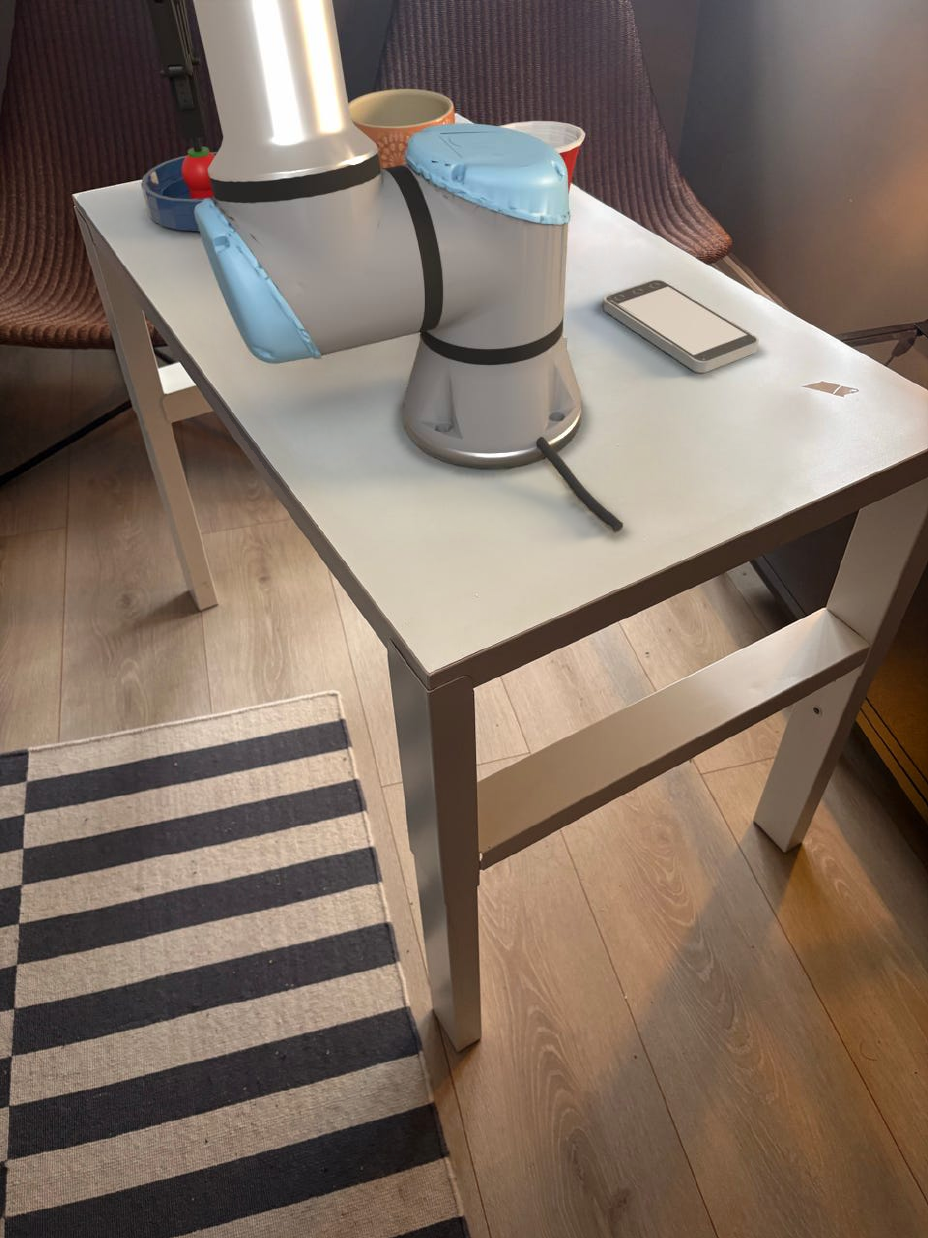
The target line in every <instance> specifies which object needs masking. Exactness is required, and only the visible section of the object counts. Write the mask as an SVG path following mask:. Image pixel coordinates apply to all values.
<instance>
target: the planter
mask: <svg viewBox="0 0 928 1238" xmlns="http://www.w3.org/2000/svg"><path fill="white" fill-rule="evenodd" d="M348 105H349V112H350V118H351V120H352V122H353V123H354V125H355V126H356V127H357V128H358V129H360V130H361V131H362V132H363V133H364V134H365V135H367V136H368V137H369V138H370V139H371V140H372V141H374V142H375V143H376V145H377V149H378V155H379V162H380V169H384V168H389V167H394V166H399V165H403V164H406V163H407V162H406V160H405V153H404V152H405V150H406V149H407V144H408V141H409V139H410V138H411V136H412V135H413V134H415V133H416V132H421V131H422V130H423V129H425V128H427V127H431V126H436V125H442V124H455V123H456V113H455V107H454V103H453V101H452V100H451V99H450V98H449V97H447V96H446V95H444V94H442V93H440V92H435V91H432V90H431V91H430V90H426V89H416V88H396V89H394V88H393V89H384V90H379V91H375V92H370V93H366V94H364V95H361V96H358V97H356V98H354V99H352V100H351V101H350V102H349V101H348Z"/></svg>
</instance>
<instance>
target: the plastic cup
mask: <svg viewBox="0 0 928 1238" xmlns="http://www.w3.org/2000/svg"><path fill="white" fill-rule="evenodd" d="M497 126H498V127H504V128H508V129H512V130H516V131H520V132H523V133H526V134H529V135H531V136H534V137H536V138H538V139H540V140H542V141H544V142H546V143H547V144H549V145H550V146H551V147H553V148H554V149H555V150H556V151H557V152H558V153H559V154H560V156H561V157H562V159H563V160H564V163H565V165H566V168H567V173H568V195H570V190H571V185H572V180H573V175H574V170H575V167H576V164H577V157H578V155H579V151H580V147H581V145H582V142H584V140H585V137H586V133H585V131H584V130H583V129H582V127H579V126H577V125H574V124H571V123H566V122H560V121H553V120H552V121H551V120H550V121H549V120H530V121H519V122H512V123H507V124H503V125H497Z"/></svg>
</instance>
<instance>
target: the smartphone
mask: <svg viewBox="0 0 928 1238" xmlns="http://www.w3.org/2000/svg"><path fill="white" fill-rule="evenodd" d="M603 311H604V312H606V313H607V314H608V315H610V316H611V317H613V318H614V319H616V320H617V321H619V322H620V323H622V324H623V325H624V326H626V327H628V328H629V329H631V330H632V331H633V332H635V333H637V334H638V335H640V336H641V337H643V338H644V339H646V340H647V341H648V342H650V343H652V344H653V345H654V346H655V347H657V348H658V349H660V350H662V351H663V352H665V353H666V354H667V355H669V356H671V357H672V358H674V359H675V360H677V361H678V362H679V363H680V364H683V365H684V366H686V367H687V368H688V369H690V370H691V371H693V372H695V373H701V374H703V373H708V372H710V371H713V370H715V369H717V368H720V367H723V366H725V365H728V364H731V363H733V362H737V361H738V360H741V359H743V358H746V357H749V356H751V355H754V354H755V353H757V351H758V346H759V337H757V336H756V335H755V334H753V333H752V332H751V331H748V330H747V329H745V328H743V327H742V326H740V325H738V324H737V323H735V322H733V321H732V320H730V319H728V318H727V317H725V316H723V315H722V314H720V313H719V312H717V311H716V310H713V309H712V308H711V307H708V306H707V305H705V304H704V303H702V302H700V301H699V300H697V299H695V298H694V297H692V296H690V295H689V294H687V293H686V292H684V291H682V290H681V289H679V288H678V287H676V286H674V285H672V284H671V283H669V282H667V281H665V280H663V279H658V278H656V279H651V280H648V281H645V282H643V283H640V284H635V285H634V286H631V287H628V288H626V289H625V288H624V289H622V290H618V291H615V292H613V293H610V294H607V295H604V298H603Z"/></svg>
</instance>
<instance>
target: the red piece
mask: <svg viewBox="0 0 928 1238" xmlns="http://www.w3.org/2000/svg"><path fill="white" fill-rule="evenodd" d="M188 56H189V61H190V66H191V67H192V72H193V68H194V67H193V66H192V63H191V58H190V54H188ZM191 142H192V147H191V148H188V150H187V155H185V156H186V157H185V159H184V161H183V163H182V169H181V170H182V177H183V180H184V182H185V184H186V185H187V186H188V188H189V193H190V197H191V199H200V198H210V197H213V192H212V187H211V183H210V179H209V174H208V167H209V166H210V164H211V162H212V161H213V159H214V157H215V155H214V154H213V153H211V152H212V151H211V152H210V149H209V148H208V147H206V146H202V142H201V138H191Z"/></svg>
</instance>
